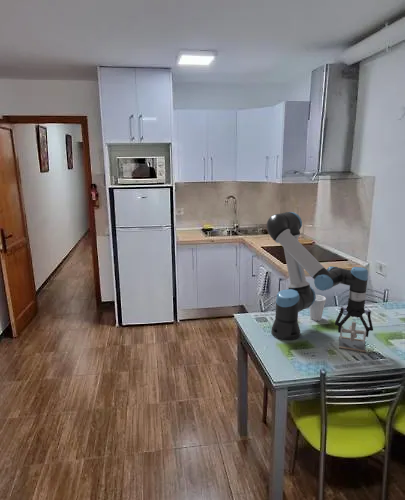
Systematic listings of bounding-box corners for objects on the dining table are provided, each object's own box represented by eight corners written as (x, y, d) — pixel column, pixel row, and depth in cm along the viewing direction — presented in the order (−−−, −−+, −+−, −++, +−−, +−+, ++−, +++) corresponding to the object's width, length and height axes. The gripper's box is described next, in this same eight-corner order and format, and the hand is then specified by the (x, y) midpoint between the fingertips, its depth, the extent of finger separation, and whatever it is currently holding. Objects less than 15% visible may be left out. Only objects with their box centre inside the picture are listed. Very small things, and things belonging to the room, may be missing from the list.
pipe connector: (365, 346, 172) (367, 327, 169) (343, 344, 174) (345, 326, 171) (360, 337, 181) (362, 319, 179) (339, 335, 183) (341, 317, 181)
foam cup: (326, 321, 204) (327, 300, 201) (310, 321, 205) (311, 300, 201) (321, 314, 214) (322, 294, 211) (305, 314, 214) (307, 294, 211)
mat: (338, 348, 175) (339, 346, 174) (339, 337, 186) (339, 336, 185) (365, 353, 171) (365, 351, 170) (363, 341, 181) (364, 339, 181)
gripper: (331, 298, 173) (328, 339, 178) (383, 304, 165) (377, 347, 170) (332, 293, 179) (328, 333, 185) (381, 299, 172) (376, 340, 177)
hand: (352, 340), depth 177 cm, fingers closed on pipe connector, 10 cm apart
